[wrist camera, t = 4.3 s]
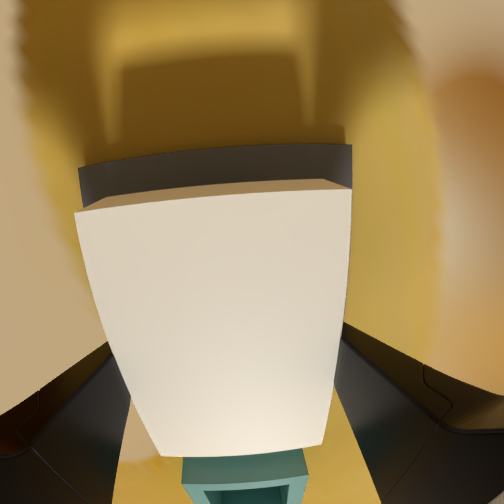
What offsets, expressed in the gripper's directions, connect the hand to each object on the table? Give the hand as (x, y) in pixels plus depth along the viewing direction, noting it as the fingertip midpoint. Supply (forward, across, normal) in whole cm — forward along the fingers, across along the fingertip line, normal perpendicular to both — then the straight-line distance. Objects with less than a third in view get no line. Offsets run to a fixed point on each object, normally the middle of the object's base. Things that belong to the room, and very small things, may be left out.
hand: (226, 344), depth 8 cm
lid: (+1, 0, 0) cm, 1 cm away
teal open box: (+3, 0, +11) cm, 11 cm away
